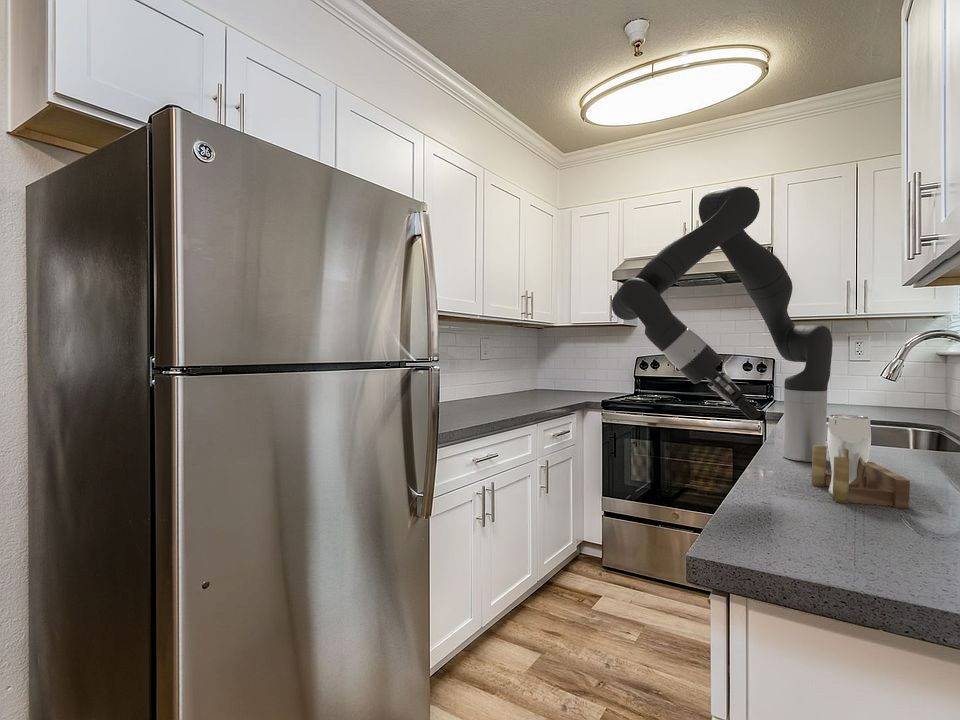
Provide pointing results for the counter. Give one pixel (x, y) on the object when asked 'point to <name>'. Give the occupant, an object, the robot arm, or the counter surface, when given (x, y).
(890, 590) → the counter surface
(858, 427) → the silver metal cup
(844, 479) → the holder
